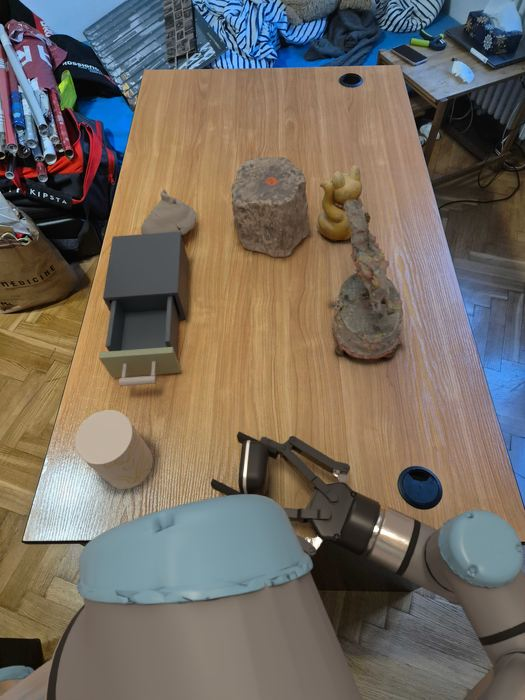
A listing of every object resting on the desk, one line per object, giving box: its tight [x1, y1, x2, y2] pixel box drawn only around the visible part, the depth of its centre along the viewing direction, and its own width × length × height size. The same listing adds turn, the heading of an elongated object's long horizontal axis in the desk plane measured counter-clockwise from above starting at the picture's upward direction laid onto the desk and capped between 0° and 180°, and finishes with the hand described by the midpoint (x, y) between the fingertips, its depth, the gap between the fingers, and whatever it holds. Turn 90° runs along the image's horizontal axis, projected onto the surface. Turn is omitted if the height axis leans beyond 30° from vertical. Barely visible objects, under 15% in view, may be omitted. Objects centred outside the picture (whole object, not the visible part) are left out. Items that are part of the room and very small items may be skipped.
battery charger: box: [237, 440, 271, 496], centre depth 69 cm, size 7×4×11 cm, turn 176°
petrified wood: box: [231, 156, 311, 258], centre depth 98 cm, size 19×17×15 cm
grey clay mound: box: [140, 188, 198, 236], centre depth 101 cm, size 12×12×11 cm
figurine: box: [331, 200, 404, 360], centre depth 79 cm, size 20×13×25 cm, turn 177°
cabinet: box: [102, 231, 189, 322], centre depth 92 cm, size 16×14×9 cm
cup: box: [74, 409, 154, 490], centre depth 71 cm, size 8×8×12 cm
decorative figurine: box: [316, 164, 363, 243], centre depth 96 cm, size 10×8×15 cm
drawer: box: [99, 295, 182, 387], centre depth 84 cm, size 19×12×7 cm, turn 3°
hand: (226, 459), depth 70 cm, fingers closed on battery charger, 7 cm apart
